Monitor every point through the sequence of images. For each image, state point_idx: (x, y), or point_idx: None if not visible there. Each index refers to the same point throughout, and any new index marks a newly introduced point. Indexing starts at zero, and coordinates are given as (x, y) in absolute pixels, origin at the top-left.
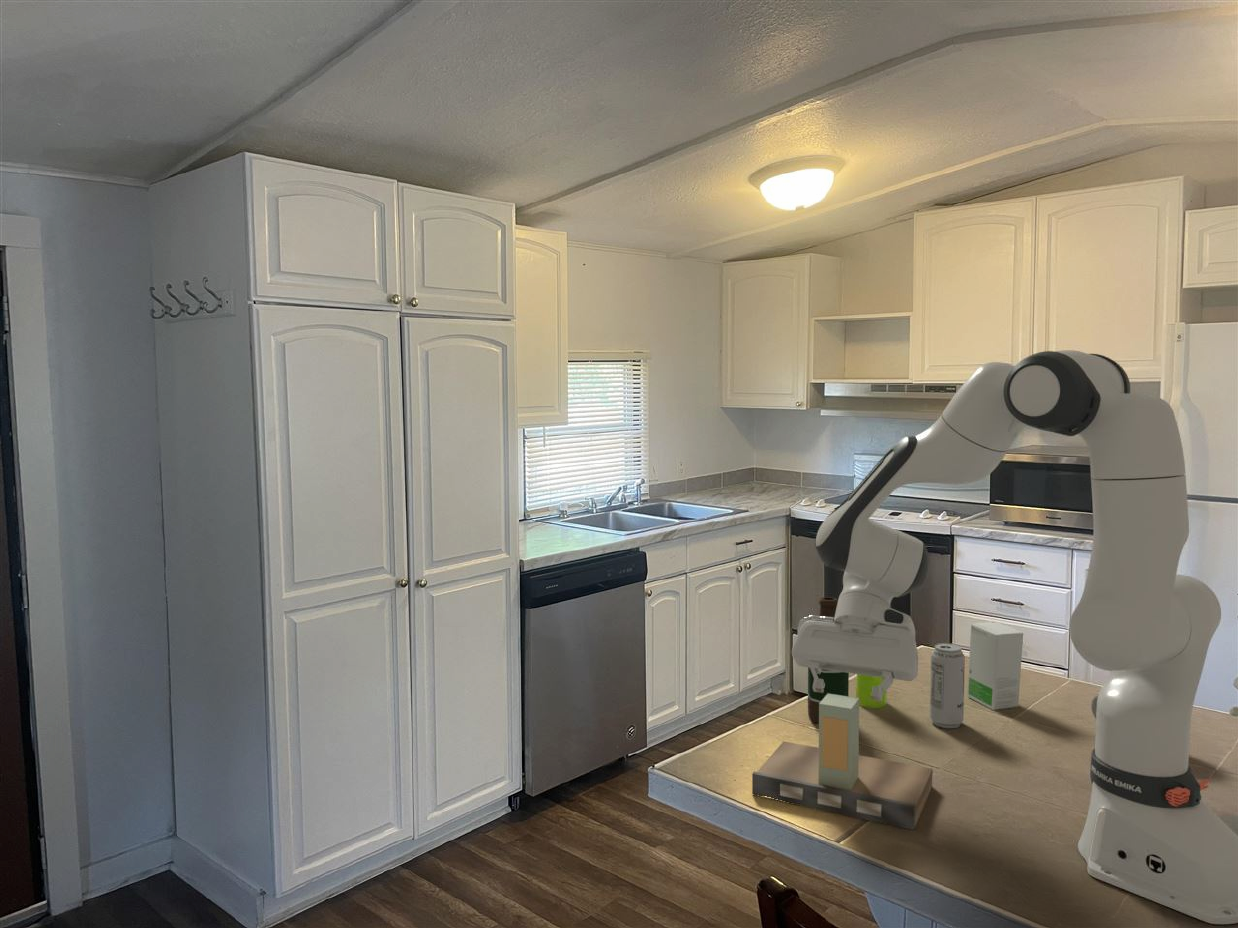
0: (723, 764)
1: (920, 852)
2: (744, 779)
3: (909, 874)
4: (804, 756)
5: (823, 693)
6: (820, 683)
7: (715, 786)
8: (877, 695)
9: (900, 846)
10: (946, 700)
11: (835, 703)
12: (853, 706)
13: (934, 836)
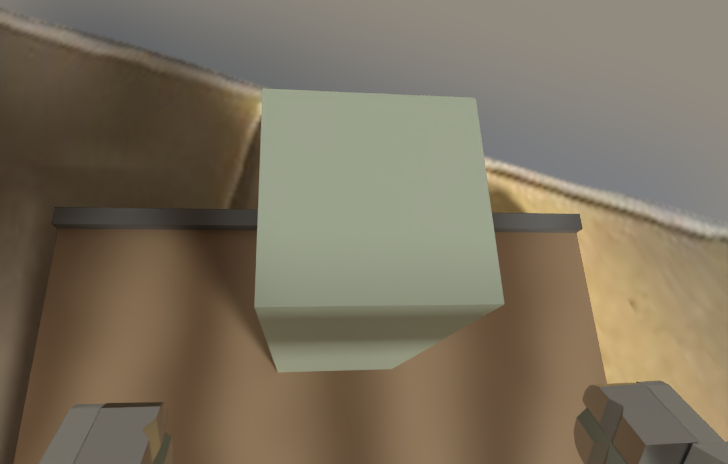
0: (719, 389)
1: (64, 133)
2: (613, 319)
3: (88, 40)
4: (510, 459)
5: None
6: (628, 405)
7: (649, 243)
8: (100, 406)
9: (117, 141)
10: None
11: (384, 137)
12: (261, 143)
13: (25, 225)
